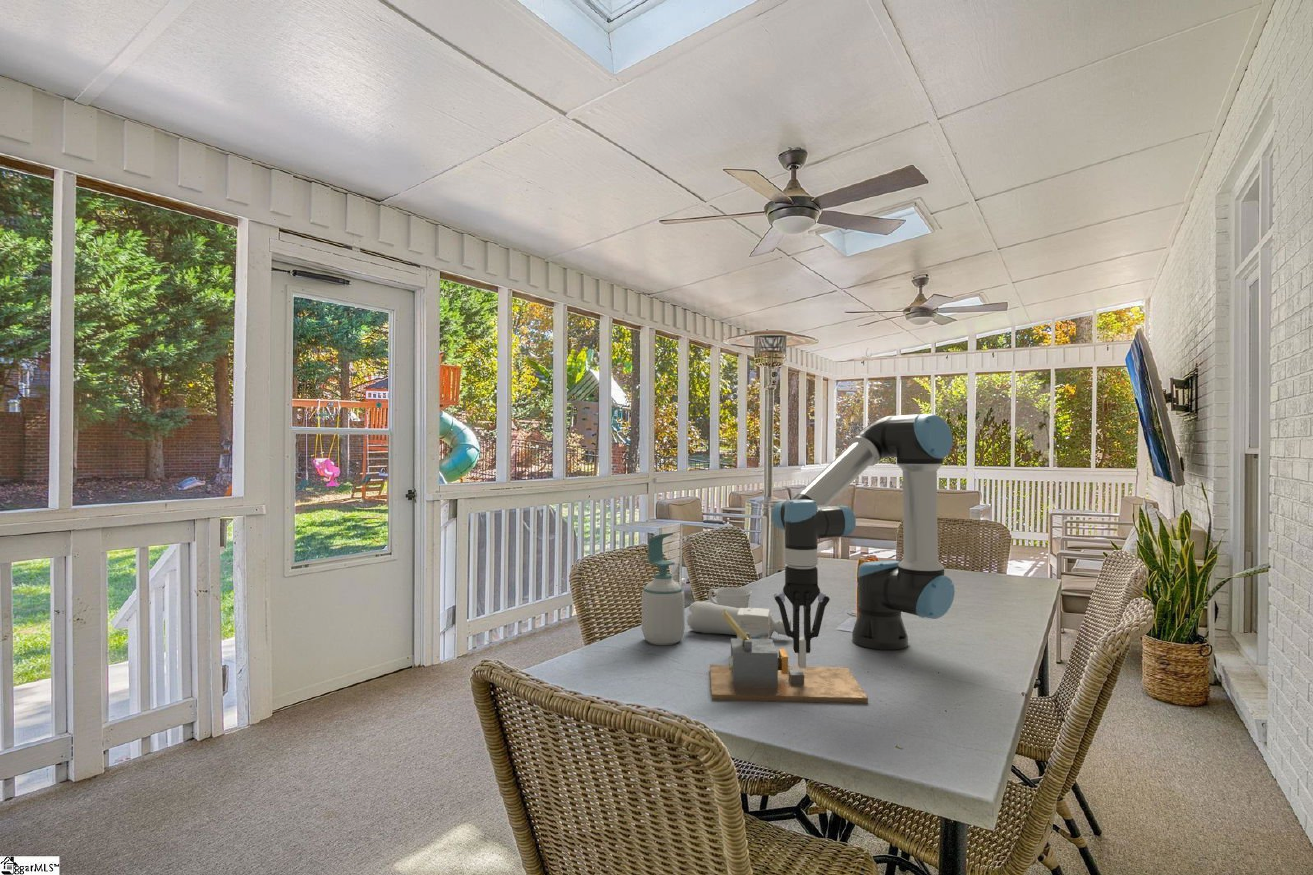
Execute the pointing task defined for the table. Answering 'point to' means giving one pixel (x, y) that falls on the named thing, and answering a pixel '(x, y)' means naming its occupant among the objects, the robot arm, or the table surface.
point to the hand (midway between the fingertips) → (801, 666)
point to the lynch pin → (781, 662)
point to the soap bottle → (662, 600)
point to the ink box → (754, 622)
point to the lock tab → (734, 625)
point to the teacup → (731, 597)
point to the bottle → (721, 619)
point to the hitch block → (779, 678)
